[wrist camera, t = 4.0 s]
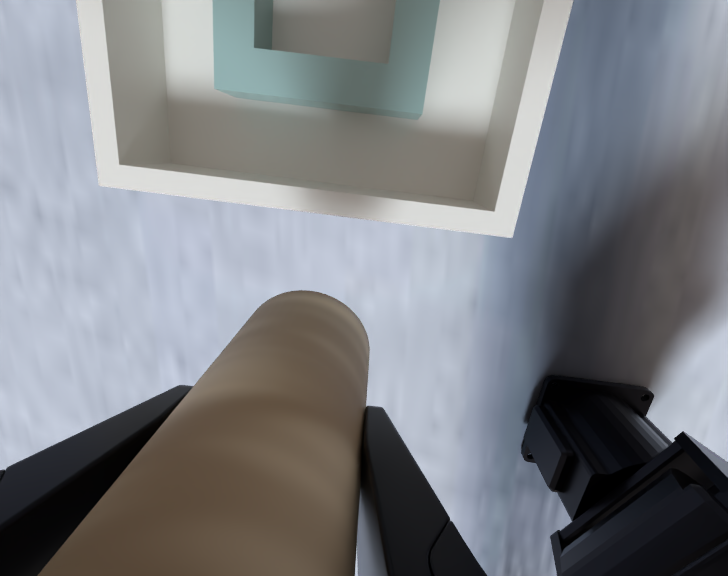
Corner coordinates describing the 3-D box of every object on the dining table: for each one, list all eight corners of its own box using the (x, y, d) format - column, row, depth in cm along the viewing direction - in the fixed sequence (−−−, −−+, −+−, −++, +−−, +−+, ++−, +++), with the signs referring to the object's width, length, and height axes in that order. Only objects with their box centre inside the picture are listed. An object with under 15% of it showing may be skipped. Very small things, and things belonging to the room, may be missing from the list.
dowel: (376, 298, 11) (335, 1143, 2) (363, 408, 12) (301, 1215, 3) (243, 283, 11) (-572, 1022, 2) (245, 395, 12) (-190, 1148, 3)
